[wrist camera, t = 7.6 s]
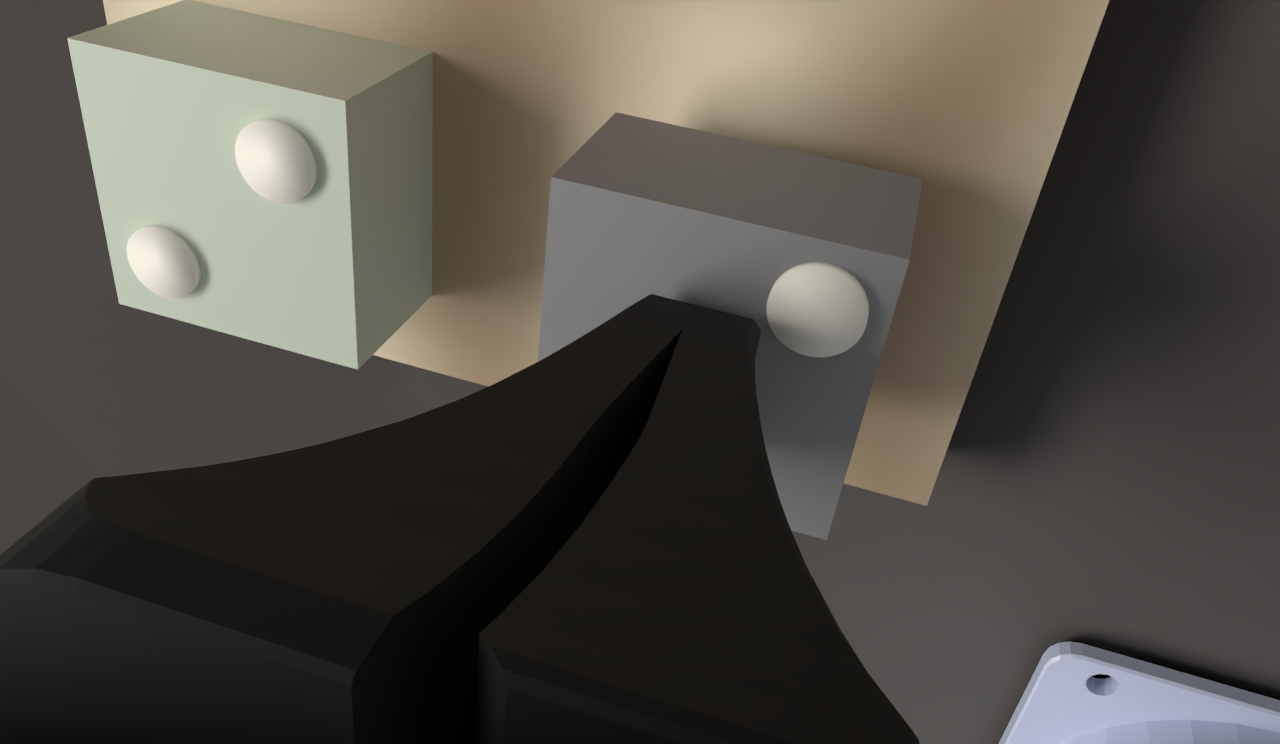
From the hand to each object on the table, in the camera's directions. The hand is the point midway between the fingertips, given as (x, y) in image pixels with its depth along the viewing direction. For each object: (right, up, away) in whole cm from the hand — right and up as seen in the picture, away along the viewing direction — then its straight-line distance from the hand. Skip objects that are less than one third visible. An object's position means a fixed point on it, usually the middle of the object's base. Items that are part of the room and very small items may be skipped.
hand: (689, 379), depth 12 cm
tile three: (+1, +1, +2) cm, 3 cm away
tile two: (-6, +4, +4) cm, 8 cm away
